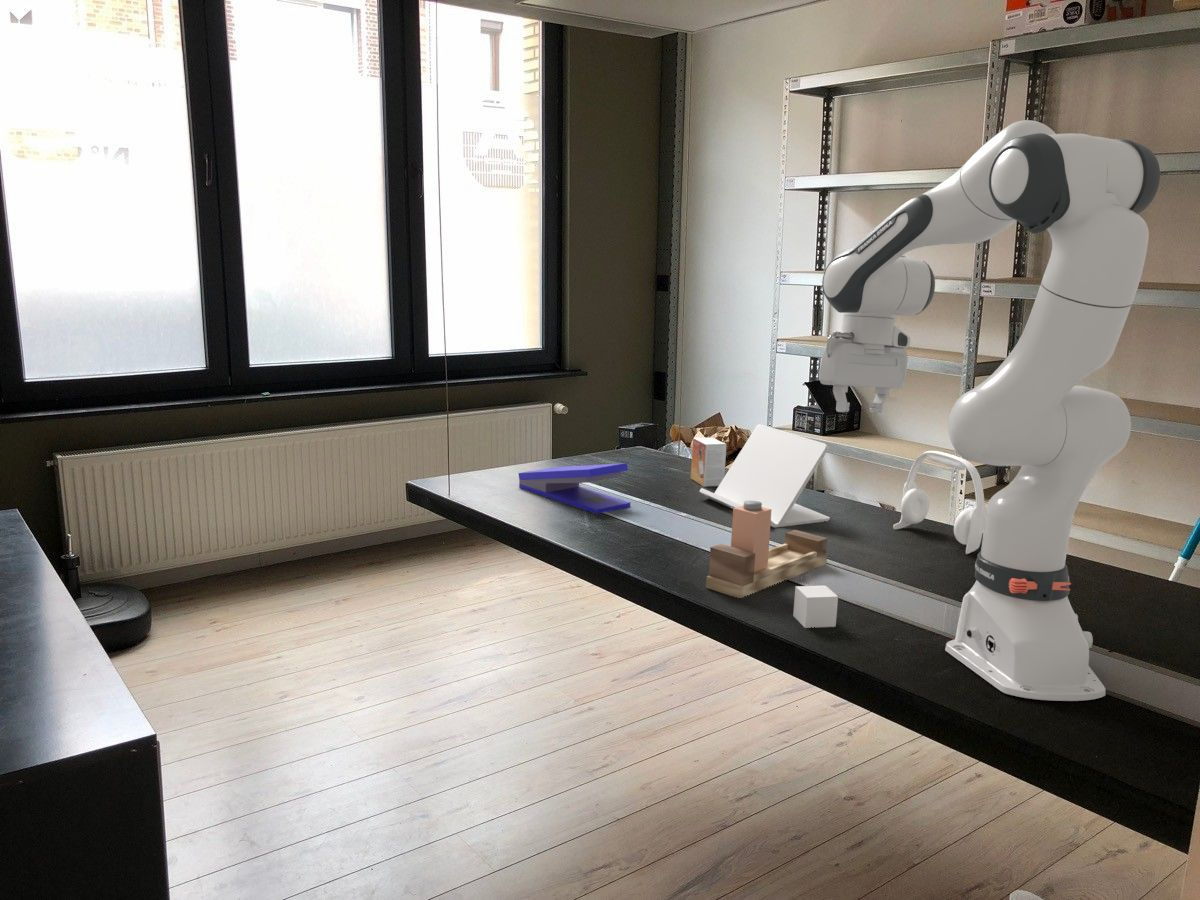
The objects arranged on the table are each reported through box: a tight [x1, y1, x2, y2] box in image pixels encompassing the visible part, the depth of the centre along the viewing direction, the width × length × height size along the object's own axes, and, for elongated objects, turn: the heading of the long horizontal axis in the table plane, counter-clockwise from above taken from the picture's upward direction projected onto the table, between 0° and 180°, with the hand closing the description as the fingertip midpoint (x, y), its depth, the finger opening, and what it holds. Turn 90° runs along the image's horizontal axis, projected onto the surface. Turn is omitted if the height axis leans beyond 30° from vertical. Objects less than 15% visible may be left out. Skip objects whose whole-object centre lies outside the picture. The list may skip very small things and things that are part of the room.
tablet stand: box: [698, 423, 831, 528], centre depth 213 cm, size 18×25×17 cm
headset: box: [892, 450, 987, 555], centre depth 194 cm, size 20×7×18 cm, turn 24°
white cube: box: [792, 584, 839, 629], centre depth 150 cm, size 5×5×5 cm
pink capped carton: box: [730, 501, 772, 574], centre depth 165 cm, size 5×5×12 cm
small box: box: [690, 437, 727, 488], centre depth 237 cm, size 8×6×10 cm
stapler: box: [518, 462, 631, 515], centre depth 220 cm, size 12×28×10 cm, turn 41°
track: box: [705, 529, 828, 599], centre depth 171 cm, size 27×7×7 cm, turn 136°
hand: (859, 412), depth 173 cm, fingers open, 8 cm apart
